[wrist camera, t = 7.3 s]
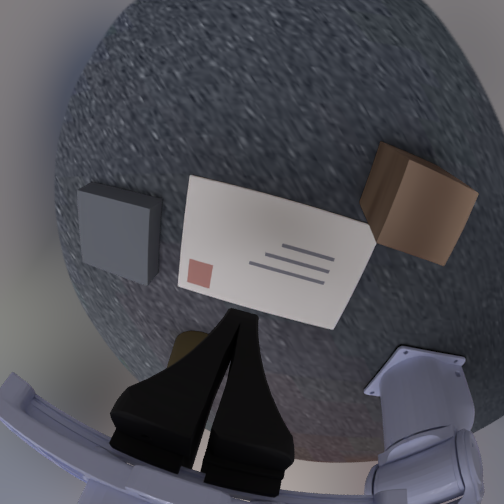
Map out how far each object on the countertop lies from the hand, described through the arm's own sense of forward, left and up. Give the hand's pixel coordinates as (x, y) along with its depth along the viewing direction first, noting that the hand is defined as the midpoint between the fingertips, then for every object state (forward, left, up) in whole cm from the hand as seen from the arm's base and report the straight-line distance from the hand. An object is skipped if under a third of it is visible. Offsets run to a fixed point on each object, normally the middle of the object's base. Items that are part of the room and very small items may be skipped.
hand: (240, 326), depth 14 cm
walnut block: (-8, -7, -9) cm, 14 cm away
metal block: (+12, +3, -10) cm, 16 cm away
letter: (-1, +2, -9) cm, 9 cm away
